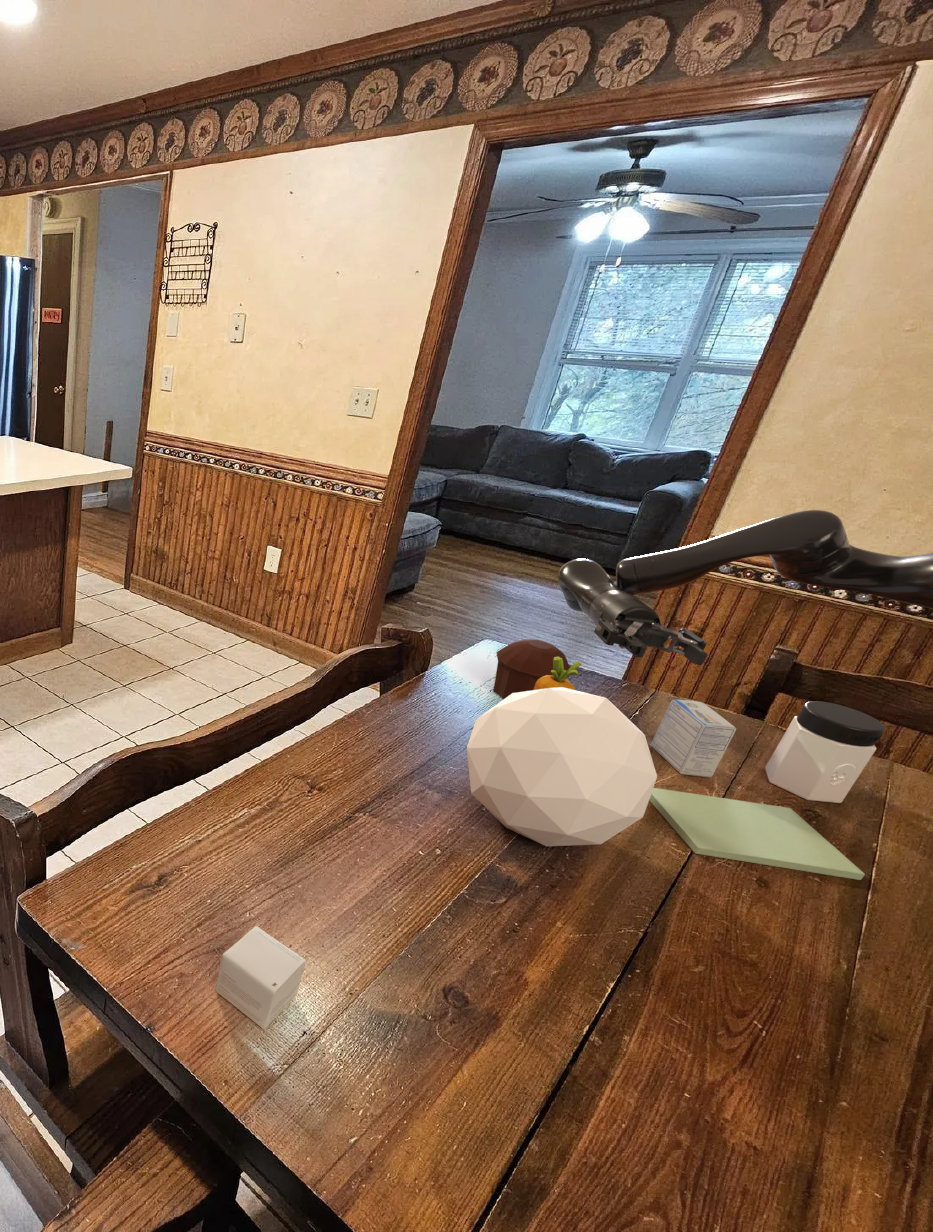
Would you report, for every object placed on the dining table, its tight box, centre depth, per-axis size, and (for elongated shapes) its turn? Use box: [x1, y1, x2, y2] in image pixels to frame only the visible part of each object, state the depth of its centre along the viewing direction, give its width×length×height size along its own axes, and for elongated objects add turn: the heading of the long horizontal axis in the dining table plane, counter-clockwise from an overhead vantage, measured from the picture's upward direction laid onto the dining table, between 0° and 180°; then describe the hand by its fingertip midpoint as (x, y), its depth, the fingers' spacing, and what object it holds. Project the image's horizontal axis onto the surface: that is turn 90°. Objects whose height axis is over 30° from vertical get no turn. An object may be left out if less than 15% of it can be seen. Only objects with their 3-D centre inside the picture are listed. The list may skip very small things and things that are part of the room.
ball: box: [466, 687, 658, 847], centre depth 89 cm, size 19×20×20 cm
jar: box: [764, 700, 886, 804], centre depth 102 cm, size 9×8×12 cm
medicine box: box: [650, 699, 737, 778], centre depth 107 cm, size 8×4×9 cm, turn 171°
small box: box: [214, 925, 307, 1030], centre depth 66 cm, size 6×6×5 cm
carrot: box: [533, 657, 583, 690], centre depth 108 cm, size 5×5×15 cm
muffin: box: [492, 638, 571, 700], centre depth 123 cm, size 12×11×10 cm
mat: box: [649, 787, 866, 881], centre depth 94 cm, size 18×13×1 cm
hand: (671, 655), depth 114 cm, fingers open, 8 cm apart
